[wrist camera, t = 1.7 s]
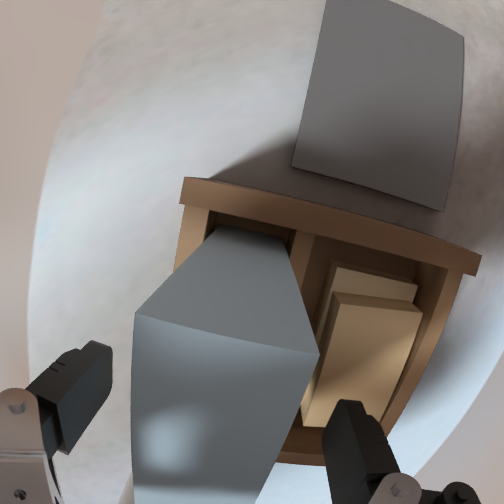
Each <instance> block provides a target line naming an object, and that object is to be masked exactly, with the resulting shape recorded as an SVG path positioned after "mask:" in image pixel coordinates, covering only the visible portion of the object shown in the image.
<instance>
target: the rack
mask: <svg viewBox="0 0 504 504" xmlns="http://www.w3.org/2000/svg"><path fill="white" fill-rule="evenodd" d="M179 204H184V205H185V208H184V213H183V218H182V224H181V229H180V235H179V240H178V246H177V252H176V258H175V264H174V270H173V272H174V271H175V270H176V269H177V268H178V267H179V266H180V265H181V264H182V263H183V262H184V261H185V260H186V259H187V258H188V257H189V256H190V255H191V254H192V253H193V252H194V251H195V250H196V249H197V248H198V247H199V246H200V245H201V244H202V243H203V242H204V241H205V240H206V239H207V238H208V237H209V236H210V235H211V234H212V233H213V232H214V231H215V230H216V229H217V228H218V227H219V226H220V225H221V224H226V225H230V226H235V227H239V228H244V229H248V230H252V231H257V232H261V233H266V234H270V235H274V236H279V237H282V239H283V242H284V245H285V248H286V251H287V254H288V257H289V260H290V263H291V266H292V269H293V272H294V275H295V278H296V281H297V284H298V287H299V290H300V293H301V296H302V299H303V303H304V306H305V309H306V312H307V315H308V318H309V321H310V325H311V322H312V319H313V316H314V312H315V309H316V306H317V303H318V300H319V296H320V293H321V290H322V286H323V283H324V279H325V276H326V273H327V269H328V266H329V262H330V259H333V260H337V261H342V262H346V263H350V264H354V265H359V266H363V267H367V268H371V269H376V270H380V271H384V272H388V273H392V274H396V275H401V276H405V277H407V278H408V279H410V280H411V281H412V282H414V283H415V284H416V285H418V288H417V291H416V294H415V297H414V299H413V302H412V304H413V305H415V306H416V307H417V308H418V309H419V310H420V311H421V312H422V313H423V315H422V318H421V321H420V324H419V327H418V330H417V333H416V336H415V339H414V341H413V344H412V347H411V350H410V352H409V355H408V357H407V360H406V363H405V365H404V368H403V370H402V373H401V375H400V377H399V380H398V382H397V384H396V387H395V389H394V391H393V394H392V396H391V398H390V400H389V402H388V405H387V407H386V409H385V411H384V413H383V415H382V417H381V419H380V421H379V423H380V424H381V426H382V429H383V431H384V433H385V436H386V438H387V436H388V435H389V433H390V431H391V430H392V428H393V426H394V425H395V423H396V422H397V420H398V418H399V416H400V415H401V413H402V411H403V410H404V408H405V406H406V404H407V403H408V401H409V399H410V397H411V395H412V393H413V392H414V390H415V388H416V386H417V384H418V382H419V380H420V378H421V376H422V374H423V372H424V370H425V368H426V366H427V364H428V362H429V360H430V358H431V355H432V353H433V351H434V349H435V347H436V344H437V342H438V340H439V337H440V335H441V333H442V330H443V328H444V326H445V323H446V321H447V318H448V315H449V313H450V310H451V308H452V305H453V302H454V300H455V297H456V294H457V291H458V288H459V285H460V282H461V279H462V276H463V273H465V274H468V275H472V276H475V277H476V274H477V271H478V267H479V264H480V261H481V257H482V255H480V254H477V253H475V252H472V251H470V250H467V249H465V248H462V247H459V246H457V245H454V244H452V243H449V242H446V241H444V240H441V239H438V238H436V237H433V236H430V235H427V234H424V233H420V232H417V231H414V230H411V229H407V228H404V227H401V226H397V225H394V224H391V223H387V222H384V221H380V220H377V219H373V218H370V217H366V216H363V215H359V214H356V213H352V212H348V211H344V210H341V209H337V208H333V207H329V206H326V205H322V204H318V203H314V202H310V201H306V200H302V199H298V198H294V197H290V196H285V195H281V194H277V193H273V192H268V191H264V190H260V189H255V188H251V187H246V186H242V185H237V184H232V183H228V182H223V181H218V180H213V179H208V178H195V177H184V182H183V187H182V192H181V197H180V202H179ZM324 429H325V427H310V426H303V420H302V413H301V405H300V407H299V409H298V412H297V414H296V417H295V419H294V421H293V424H292V426H291V428H290V430H289V433H288V435H287V437H286V439H285V442H284V444H283V446H282V448H281V450H280V453H279V455H278V457H277V459H276V461H275V462H279V463H288V464H299V465H312V466H326V465H325V460H324V454H323V449H322V435H323V431H324Z"/></svg>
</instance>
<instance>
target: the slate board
mask: <svg viewBox="0 0 504 504" xmlns="http://www.w3.org/2000/svg"><path fill="white" fill-rule="evenodd" d="M319 356H320V353H319V350H318V347H317V344H316V341H315V337H314V334H313V331H312V328H311V325H310V321H309V318H308V315H307V312H306V309H305V306H304V303H303V299H302V296H301V293H300V290H299V287H298V284H297V281H296V278H295V275H294V272H293V269H292V266H291V263H290V260H289V257H288V254H287V251H286V248H285V245H284V242H283V239H282V237H279V236H274V235H270V234H266V233H261V232H257V231H252V230H248V229H244V228H239V227H235V226H230V225H226V224H221V225H220V226H219V227H218V228H217V229H216V230H215V231H214V232H213V233H212V234H211V235H210V236H209V237H208V238H207V239H206V240H205V241H204V242H203V243H202V244H201V245H200V246H199V247H198V248H197V249H196V250H195V251H194V252H193V253H192V254H191V255H190V256H189V257H188V258H187V259H186V260H185V261H184V262H183V263H182V264H181V265H180V266H179V267H178V268H177V269H176V270H175V271H174V272H173V273H172V274H171V275H170V276H169V277H168V279H167V280H166V281H165V282H164V283H163V284H162V285H161V286H160V287H159V288H158V289H157V290H156V291H155V292H154V293H153V294H152V295H151V296H150V297H149V298H148V299H147V300H146V302H145V303H144V304H143V305H142V306H141V307H140V308H139V309H138V310H137V311H136V312H135V318H134V331H133V346H132V367H131V454H132V473H133V488H134V499H135V504H254V503H255V501H256V499H257V498H258V496H259V494H260V492H261V490H262V488H263V486H264V484H265V482H266V480H267V478H268V476H269V474H270V472H271V470H272V467H273V465H274V463H275V461H276V459H277V457H278V455H279V453H280V450H281V448H282V446H283V444H284V442H285V439H286V437H287V435H288V433H289V430H290V428H291V426H292V424H293V421H294V419H295V417H296V414H297V412H298V409H299V407H300V405H301V402H302V400H303V397H304V395H305V392H306V390H307V387H308V385H309V382H310V380H311V377H312V374H313V372H314V369H315V367H316V364H317V361H318V359H319Z"/></svg>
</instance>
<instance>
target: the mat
mask: <svg viewBox="0 0 504 504" xmlns="http://www.w3.org/2000/svg"><path fill="white" fill-rule="evenodd" d="M462 81H463V36H462V35H460V34H458V33H457V32H455V31H453V30H451V29H449V28H447V27H446V26H444V25H442V24H440V23H438V22H436V21H434V20H432V19H430V18H428V17H426V16H424V15H421V14H419V13H417V12H415V11H413V10H410V9H408V8H406V7H404V6H401V5H399V4H396V3H394V2H391V1H389V0H327V1H326V6H325V11H324V15H323V20H322V25H321V30H320V35H319V40H318V45H317V49H316V54H315V59H314V63H313V68H312V73H311V77H310V82H309V87H308V91H307V96H306V100H305V105H304V110H303V114H302V119H301V123H300V128H299V132H298V136H297V141H296V145H295V150H294V154H293V158H292V163H291V167H293V168H297V169H301V170H305V171H309V172H313V173H317V174H320V175H324V176H328V177H331V178H335V179H339V180H342V181H346V182H349V183H353V184H356V185H360V186H363V187H366V188H370V189H373V190H376V191H379V192H383V193H386V194H389V195H392V196H395V197H398V198H401V199H404V200H407V201H410V202H413V203H416V204H419V205H422V206H425V207H428V208H430V209H433V210H436V211H439V212H444V208H445V204H446V199H447V195H448V190H449V185H450V180H451V174H452V169H453V163H454V157H455V150H456V144H457V136H458V128H459V119H460V109H461V97H462Z"/></svg>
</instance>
